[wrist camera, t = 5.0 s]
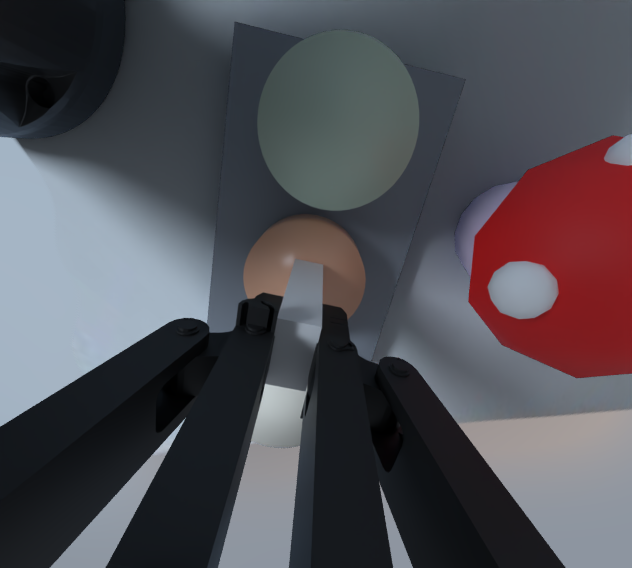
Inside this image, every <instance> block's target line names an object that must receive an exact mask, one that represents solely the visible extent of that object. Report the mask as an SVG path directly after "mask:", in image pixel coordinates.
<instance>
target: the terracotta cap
mask: <svg viewBox="0 0 632 568" xmlns="http://www.w3.org/2000/svg"><path fill="white" fill-rule="evenodd" d="M295 259H299V260H304V261H309V262H313V263H318V264H323V300H322V304H327V305H331V306H336V307H341V308H342V309H343V310H344V311H345V312H346V314H347V320H348V319H349V318H350V317H351V316H352V315H353V314H354V312H355V311H356V309H357V308H358V306H359V304H360V302H361V300H362V297H363V295H364V290H365V282H366V278H365V270H364V265H363V262H362V259H361V257H360V254H359V251H358V248H357V246H356V244H355V242H354V240H353V239H352V237H351V236H350V235H349V234H348V232H347V231H346V230H345V229H344V228H342V227H341V226H340V225H339V224H337V223H335V222H334V221H332V220H330V219H327V218H325V217H322V216H318V215H312V214H300V215H293V216H289V217H286V218H284V219H281V220H280V221H278V222H276V223H274V224H273V225H272V226H271V227H269V228H268V229H267V230H266V231H265V232H264V233H263V235H262V236H261V237H260V238H259V239H258V241H257V242H256V243H255V244H254V246H253V247H252V249H251V250H250V252H249V254H248V256H247V259H246V262H245V266H244V273H243V281H244V288H245V292H246V295H247V298H248V299H252V298H255V297H256V296H257V295H259V294H261V293H263V292H264V293H269V294H274V295H278V296H283V297H284V294H285V291H286V287H287V284H288V281H289V278H290V274H291V271H292V268H293V264H294V261H295Z"/></svg>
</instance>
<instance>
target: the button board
mask: <svg viewBox="0 0 632 568" xmlns="http://www.w3.org/2000/svg"><path fill="white" fill-rule="evenodd" d="M302 40H304V39H302V38H298V37H294V36H290V35H286V34H282V33H278V32H274V31H270V30H266V29H262V28H258V27H254V26H250V25H246V24H242V23H238V22H235V25H234V36H233V47H232V58H231V69H230V80H229V91H228V102H227V113H226V124H225V134H224V145H223V156H222V167H221V178H220V189H219V200H218V211H217V222H216V233H215V244H214V255H213V266H212V276H211V287H210V298H209V309H208V320H207V325H208V326H209V331H210V332H211V333H220V332H229V331H233V329H234V327H235V326H236V318H237V311H238V304H239V303H240V302H241V301H242V300H245V299H248V298H247V295H246V292H245V288H244V281H243V273H244V266H245V262H246V259H247V256H248V254H249V252H250V250H251V249H252V247H253V246H254V244H255V243H256V242H257V241H258V239H259V238H260V237H261V236H262V235H263V233H264V232H265V231H266V230H267V229H268V228H269V227H271V226H272V225H273V224H274V223H276V222H278V221H280V220H281V219H284V218H286V217H289V216H293V215H300V214H312V215H318V216H322V217H325V218H327V219H330V220H332V221H334V222H335V223H337V224H339V225H340V226H341V227H342V228H344V229H345V230H346V231H347V232H348V234H349V235H350V236H351V237H352V239H353V240H354V242H355V244H356V246H357V248H358V251H359V254H360V257H361V259H362V262H363V265H364V270H365V278H366V282H365V290H364V295H363V297H362V300H361V302H360V304H359V306H358V308H357V309H356V311H355V312H354V314H353V315H352V316H351V317H350V318H349V319H348V320H347V321H348V327H349V334H350V341H352V342H353V343H354V344H355V346H356V348H357V351H358V355H359V356H360V357H362V358H364V359H366V360H368V361H370V362H371V360H372V357H373V354H374V351H375V348H376V345H377V342H378V339H379V336H380V333H381V330H382V327H383V324H384V321H385V318H386V315H387V312H388V309H389V306H390V303H391V300H392V297H393V294H394V291H395V288H396V285H397V282H398V279H399V276H400V273H401V270H402V267H403V264H404V261H405V259H406V256H407V253H408V250H409V247H410V244H411V241H412V238H413V235H414V232H415V229H416V226H417V223H418V220H419V217H420V214H421V211H422V208H423V205H424V202H425V199H426V196H427V193H428V190H429V187H430V184H431V181H432V178H433V175H434V172H435V169H436V166H437V163H438V160H439V157H440V154H441V151H442V148H443V145H444V142H445V140H446V137H447V134H448V131H449V128H450V125H451V122H452V119H453V116H454V113H455V110H456V107H457V104H458V101H459V98H460V95H461V92H462V89H463V86H464V83H465V80H466V79H462V78H458V77H454V76H450V75H446V74H442V73H438V72H434V71H430V70H426V69H422V68H418V67H414V66H410V65H406V64H404V66H405V67H406V69H407V71H408V73H409V75H410V77H411V79H412V82H413V84H414V87H415V90H416V94H417V98H418V105H419V130H418V137H417V141H416V145H415V149H414V151H413V154H412V157H411V159H410V161H409V163H408V165H407V167H406V169H405V170H404V172H403V173H402V175H401V176H400V178H399V179H398V180H397V181H396V182H395V183H394V185H393V186H392V187H391V188H390V189H388V190H387V191H386V192H385V193H384V194H383V195H381V196H380V197H378V198H377V199H375V200H373V201H372V202H370V203H368V204H365V205H363V206H360V207H357V208H353V209H349V210H341V211H330V210H323V209H319V208H315V207H312V206H309V205H307V204H305V203H302V202H301V201H299V200H297V199H296V198H294V197H293V196H292V195H290V194H289V193H288V192H287V191H286V190H285V189H284V188H283V187H282V186H281V185H280V184H279V183H278V182H277V180H276V179H275V178H274V176H273V175H272V173H271V172H270V170H269V168H268V166H267V164H266V162H265V160H264V157H263V154H262V151H261V148H260V144H259V138H258V127H257V118H258V108H259V102H260V97H261V94H262V91H263V88H264V85H265V83H266V81H267V79H268V76H269V75H270V73H271V71H272V70H273V68H274V67H275V65H276V64H277V62H278V61H279V60H280V59H281V58H282V56H283V55H284V54H285V53H286V52H288V51H289V50H290V49H291V48H292V47H293V46H295V45H296V44H297V43H299V42H300V41H302Z"/></svg>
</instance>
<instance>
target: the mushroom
mask: <svg viewBox="0 0 632 568" xmlns="http://www.w3.org/2000/svg"><path fill="white" fill-rule="evenodd" d="M454 235H455V252H456V254H457V256H458V257H459V259H460V261H461V263H462V265H463V267H464V268H465V270H466V271H467V273H468V274H469V276H470V278H471V279H470V289H469V300H468V302H469V303H470V304H471V306H472V307H473V308H474V310H475V311H476V312H477V313H478V315H479V316H480V317H481V319H482V320H483V321H484V322H485V324H486V325H487V326H488V328H489V329H490V330H491V332H492V333H493V334H494V335H495V337H496V338H497V339H498V341H499V342H500V343H501V344H502V345H503V346H505V347H508V348H510V349H512V350H514V351H517V352H519V353H521V354H523V355H526V356H528V357H530V358H532V359H535V360H537V361H539V362H542V363H544V364H546V365H548V366H551V367H553V368H555V369H557V370H560V371H562V372H564V373H566V374H569V375H571V376H573V377H575V378H584V377H596V376H608V375H619V374H631V373H632V134H629V135H626V136H625V137H620V136H614V135H612V136H610V137H607V138H605V139H603V140H600V141H598V142H595V143H593V144H590V145H588V146H585V147H583V148H580V149H578V150H576V151H573V152H571V153H568V154H566V155H563V156H561V157H558V158H556V159H553V160H551V161H549V162H546V163H544V164H541V165H539V166H536V167H534V168H531V169H529V170H527V172H526V173H525V174H524V175H523V177H522V178H521V179H520V180H519V181H517V182H512V183H507V184H503V185H498V186H494V187H492V188H490V189H489V190H487V191H486V192H484V193H482V194H481V195H479V196H477V197H476V198H475V199H474V200H473V201H472V202H471V203H470V205H469V206H468V207H467V208H466V210H465V211H464V212H463V213H462V214H461V217H460V220H459V222H458V225H457V228H456V231H455V234H454Z"/></svg>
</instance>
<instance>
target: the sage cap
mask: <svg viewBox="0 0 632 568" xmlns="http://www.w3.org/2000/svg"><path fill="white" fill-rule="evenodd" d="M257 127H258V138H259V144H260V148H261V151H262V154H263V157H264V160H265V162H266V164H267V166H268V168H269V170H270V172H271V173H272V175H273V176H274V178H275V179H276V180H277V182H278V183H279V184H280V185H281V186H282V187H283V188H284V189H285V190H286V191H287V192H288V193H289V194H290V195H292V196H293V197H294V198H296V199H297V200H299V201H301V202H302V203H305V204H307V205H309V206H312V207H315V208H319V209H323V210H330V211H341V210H349V209H353V208H357V207H360V206H363V205H365V204H368V203H370V202H372V201H373V200H375V199H377V198H378V197H380V196H381V195H383V194H384V193H385V192H386V191H387V190H388V189H390V188H391V187H392V186H393V185H394V183H395V182H396V181H397V180H398V179H399V178H400V176H401V175H402V173H403V172H404V170H405V169H406V167H407V165H408V163H409V161H410V159H411V157H412V154H413V151H414V149H415V145H416V141H417V137H418V130H419V105H418V98H417V94H416V90H415V87H414V84H413V82H412V79H411V77H410V75H409V73H408V71H407V69H406V67H405V66H404V64H403V63H402V62H401V60H400V59H399V58H398V56H397V55H396V54H395V53H394V52H393V51H392V50H391V49H390V48H389V47H387V46H386V45H385V44H383V43H382V42H381V41H379V40H377V39H375V38H373V37H371V36H369V35H366V34H364V33H361V32H357V31H351V30H330V31H324V32H321V33H318V34H315V35H312V36H310V37H308V38H306V39H304V40H302V41H300V42H299V43H297V44H296V45H295V46H293V47H292V48H291V49H290V50H289V51H288V52H286V53H285V54H284V55H283V56H282V58H281V59H280V60H279V61H278V62H277V64H276V65H275V67H274V68H273V70H272V71H271V73H270V75H269V76H268V79H267V81H266V83H265V85H264V88H263V91H262V94H261V97H260V102H259V108H258V118H257Z"/></svg>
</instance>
